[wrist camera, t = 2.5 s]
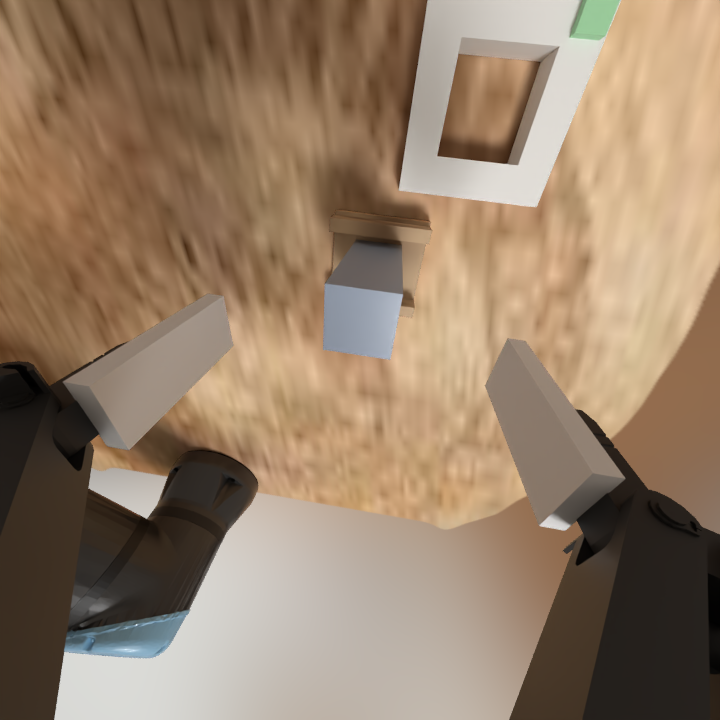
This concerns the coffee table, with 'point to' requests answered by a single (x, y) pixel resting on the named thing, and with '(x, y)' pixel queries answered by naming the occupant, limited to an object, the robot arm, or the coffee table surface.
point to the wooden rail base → (385, 231)
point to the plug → (364, 300)
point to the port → (545, 104)
